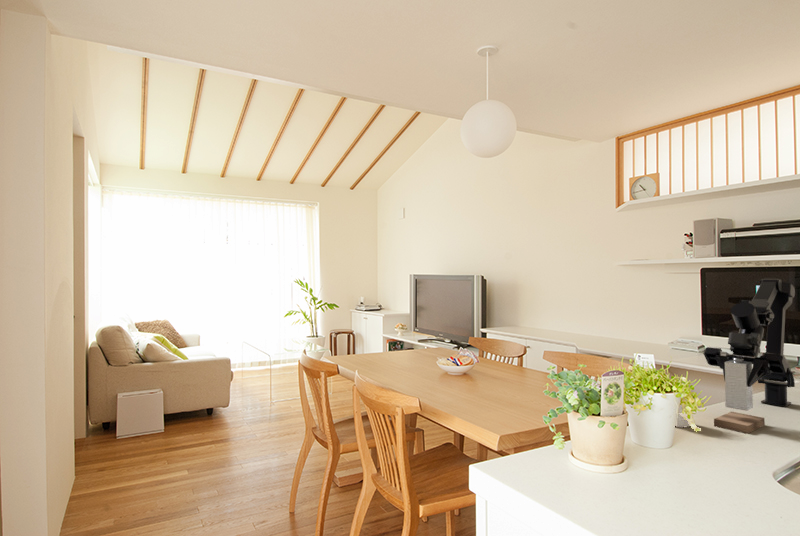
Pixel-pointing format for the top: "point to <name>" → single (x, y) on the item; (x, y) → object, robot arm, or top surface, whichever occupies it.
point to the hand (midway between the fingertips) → (737, 384)
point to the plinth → (739, 422)
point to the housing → (738, 384)
